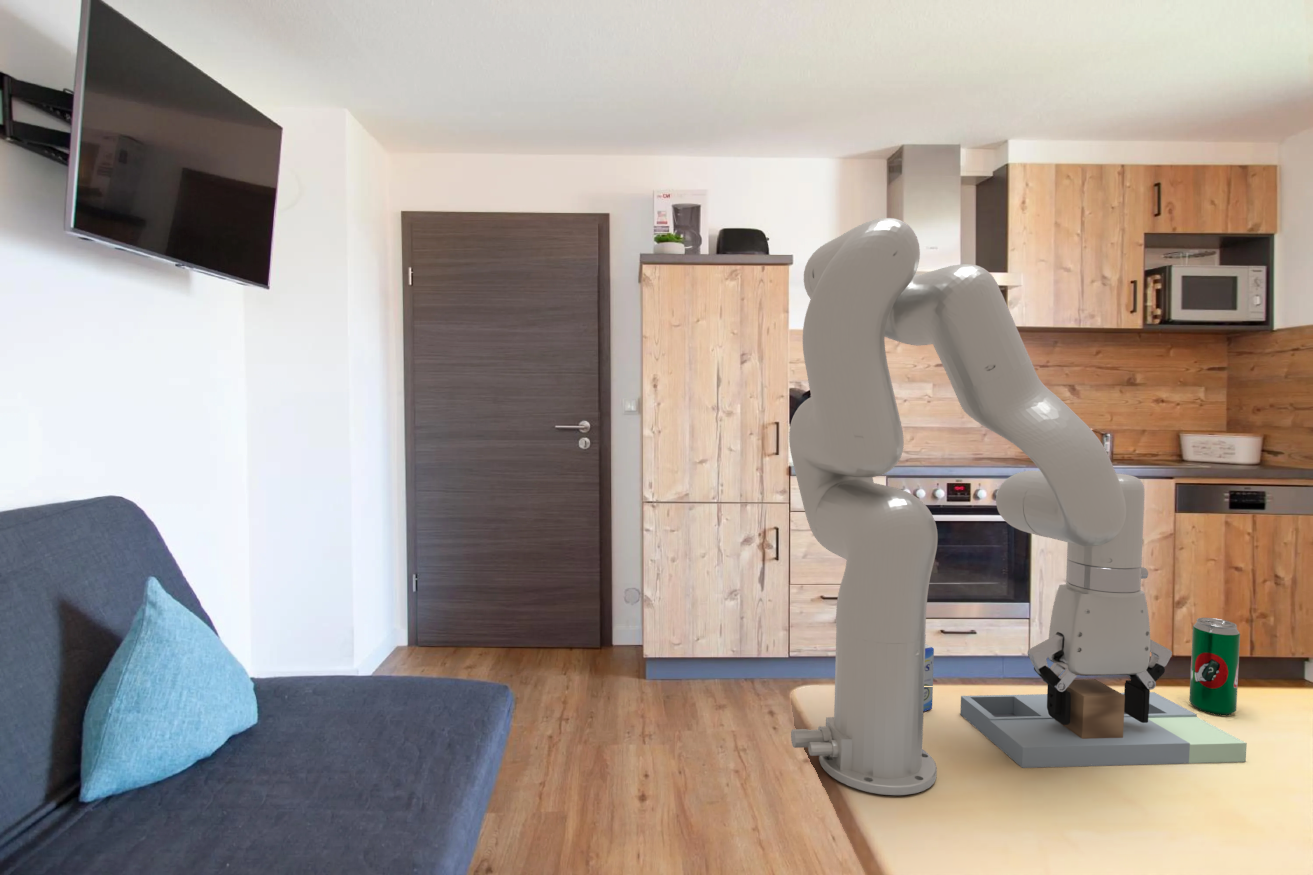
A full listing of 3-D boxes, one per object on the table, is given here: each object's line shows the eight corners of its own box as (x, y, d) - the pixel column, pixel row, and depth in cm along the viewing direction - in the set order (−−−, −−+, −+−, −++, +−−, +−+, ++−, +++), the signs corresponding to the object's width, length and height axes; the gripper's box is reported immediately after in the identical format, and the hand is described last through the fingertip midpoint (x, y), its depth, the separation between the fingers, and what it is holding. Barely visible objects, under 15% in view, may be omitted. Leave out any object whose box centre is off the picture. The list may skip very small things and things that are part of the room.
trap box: (1022, 767, 81) (1023, 745, 81) (960, 714, 95) (961, 695, 95) (1245, 761, 83) (1246, 740, 83) (1153, 710, 97) (1154, 691, 97)
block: (1082, 738, 83) (1083, 696, 83) (1055, 719, 88) (1056, 679, 88) (1123, 737, 84) (1124, 695, 84) (1093, 718, 89) (1095, 678, 89)
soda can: (1244, 718, 95) (1249, 629, 94) (1201, 715, 96) (1205, 626, 95) (1222, 703, 100) (1227, 617, 99) (1181, 699, 101) (1185, 615, 100)
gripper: (1147, 569, 90) (1142, 704, 91) (1014, 570, 88) (1010, 707, 89) (1197, 584, 82) (1190, 731, 83) (1052, 586, 81) (1047, 735, 82)
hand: (1097, 718), depth 86 cm, fingers open, 9 cm apart
